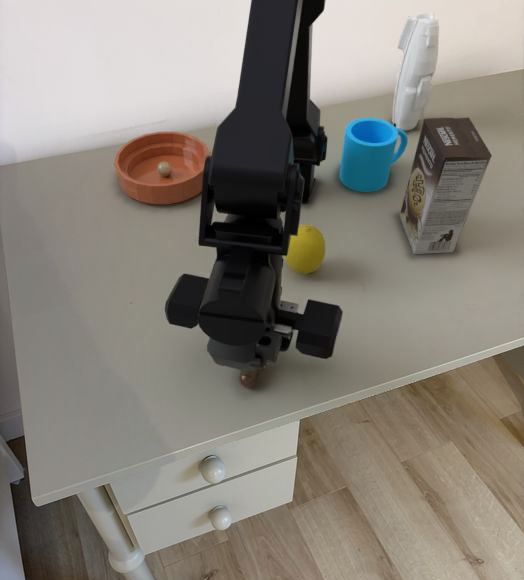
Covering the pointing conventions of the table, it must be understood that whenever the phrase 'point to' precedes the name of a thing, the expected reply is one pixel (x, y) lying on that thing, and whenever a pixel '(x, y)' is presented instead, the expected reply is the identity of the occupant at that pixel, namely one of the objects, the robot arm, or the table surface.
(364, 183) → the mug
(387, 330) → the table surface
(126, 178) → the bowl
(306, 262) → the lemon
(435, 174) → the coffee box
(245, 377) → the brown sausage
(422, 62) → the white tall rounded piece
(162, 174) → the bead
